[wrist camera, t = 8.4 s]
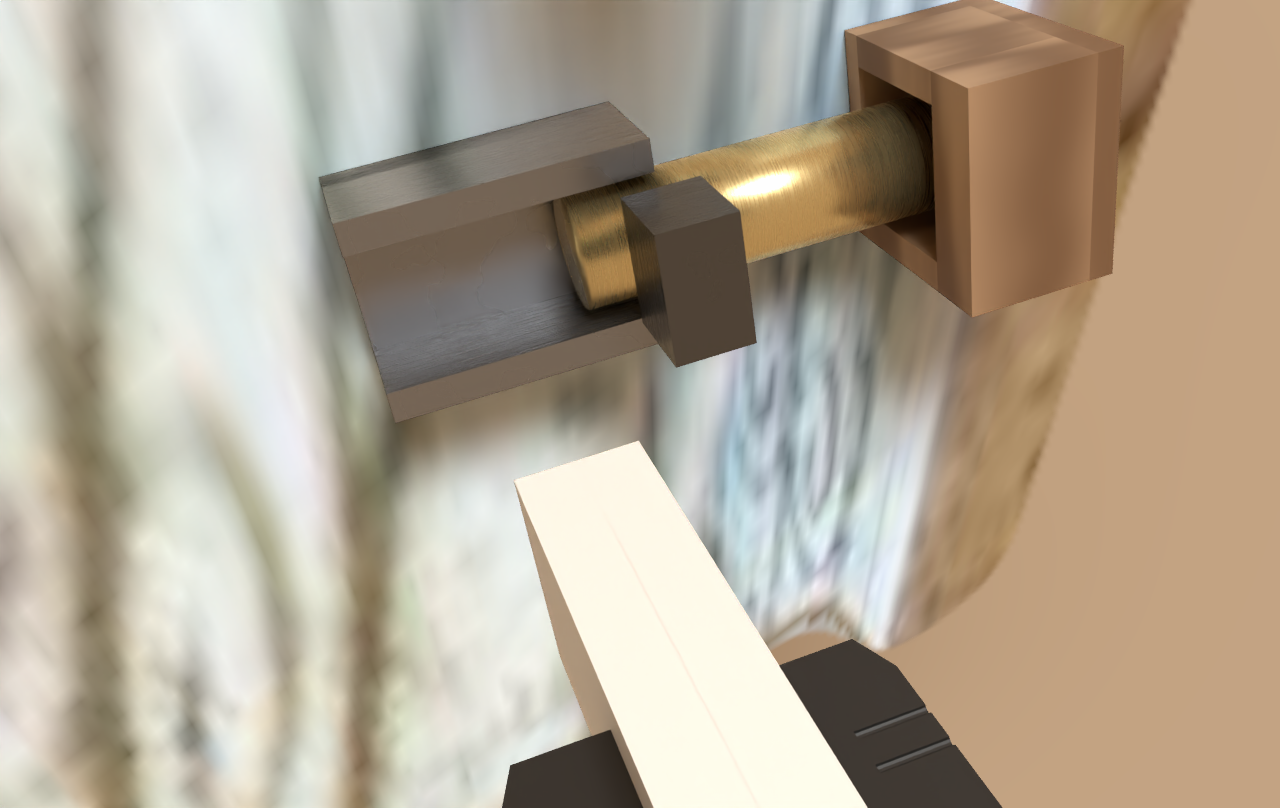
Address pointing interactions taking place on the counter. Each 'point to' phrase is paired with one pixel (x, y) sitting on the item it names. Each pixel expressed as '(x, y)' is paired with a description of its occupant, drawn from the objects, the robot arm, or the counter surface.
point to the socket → (1000, 147)
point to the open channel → (482, 258)
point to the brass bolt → (741, 219)
